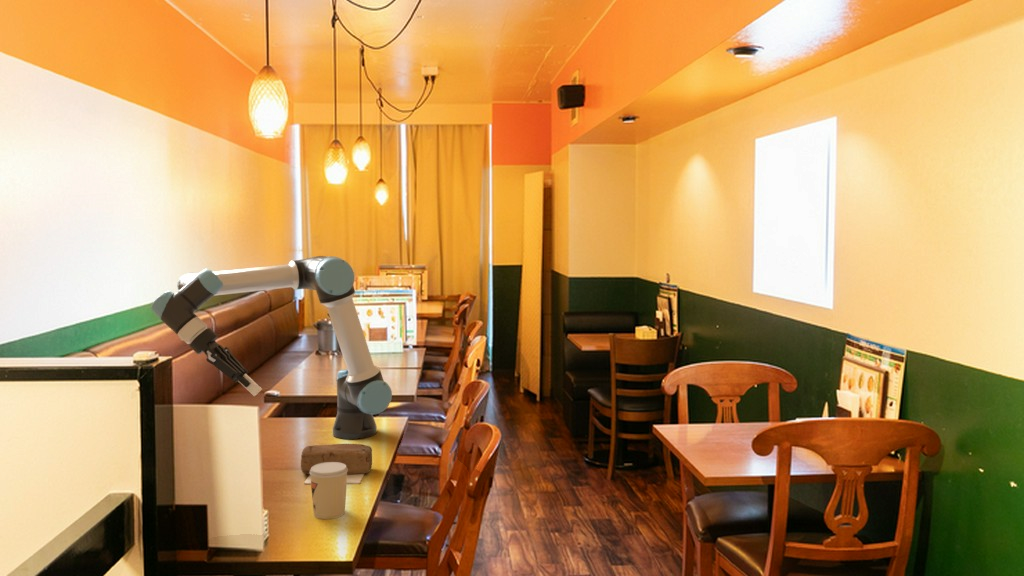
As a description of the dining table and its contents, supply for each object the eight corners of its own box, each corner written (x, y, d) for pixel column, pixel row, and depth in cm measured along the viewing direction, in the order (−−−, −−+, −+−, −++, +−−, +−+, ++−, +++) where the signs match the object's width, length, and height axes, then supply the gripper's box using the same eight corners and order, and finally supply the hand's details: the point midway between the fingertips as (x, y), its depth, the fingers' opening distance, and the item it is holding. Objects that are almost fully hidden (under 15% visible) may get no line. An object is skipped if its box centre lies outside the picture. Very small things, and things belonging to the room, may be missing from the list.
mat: (319, 462, 235) (319, 460, 235) (370, 461, 235) (370, 460, 235) (304, 484, 215) (304, 482, 215) (359, 483, 215) (359, 482, 215)
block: (299, 476, 219) (369, 476, 221) (299, 450, 219) (370, 450, 221) (306, 465, 230) (373, 465, 232) (306, 441, 230) (373, 441, 232)
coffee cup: (313, 507, 198) (313, 461, 197) (350, 506, 198) (349, 461, 197) (307, 521, 188) (306, 473, 187) (345, 519, 189) (344, 472, 188)
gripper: (197, 341, 227) (255, 396, 229) (180, 348, 214) (242, 407, 216) (215, 324, 226) (273, 379, 229) (199, 330, 214) (260, 388, 216)
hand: (258, 392), depth 222 cm, fingers closed
